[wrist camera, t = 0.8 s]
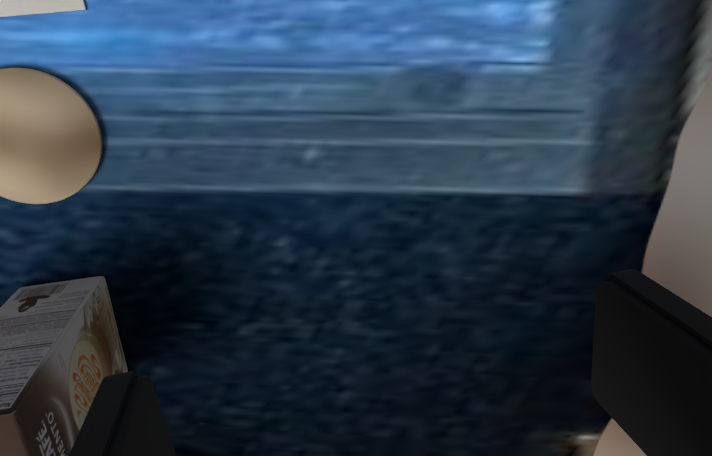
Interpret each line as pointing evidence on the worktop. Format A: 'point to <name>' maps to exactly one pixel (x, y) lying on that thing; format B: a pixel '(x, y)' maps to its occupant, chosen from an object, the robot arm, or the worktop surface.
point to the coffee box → (54, 363)
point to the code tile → (38, 6)
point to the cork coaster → (44, 137)
